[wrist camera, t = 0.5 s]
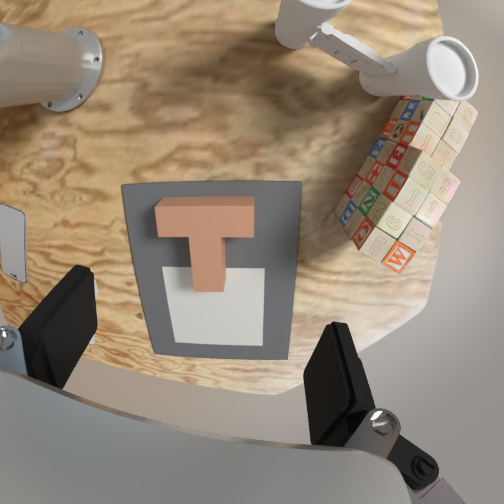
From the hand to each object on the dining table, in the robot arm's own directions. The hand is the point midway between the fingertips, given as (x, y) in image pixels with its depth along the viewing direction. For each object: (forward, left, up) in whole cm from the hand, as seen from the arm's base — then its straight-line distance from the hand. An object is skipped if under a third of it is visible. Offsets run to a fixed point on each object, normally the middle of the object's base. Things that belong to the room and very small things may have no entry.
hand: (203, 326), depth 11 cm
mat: (-5, -17, -30) cm, 35 cm away
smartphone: (-43, -10, -31) cm, 53 cm away
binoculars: (+11, +16, -30) cm, 36 cm away
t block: (-5, -9, -30) cm, 31 cm away
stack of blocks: (+20, +3, -30) cm, 36 cm away
